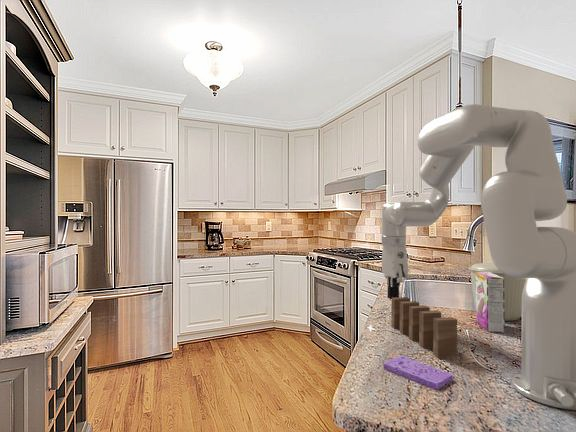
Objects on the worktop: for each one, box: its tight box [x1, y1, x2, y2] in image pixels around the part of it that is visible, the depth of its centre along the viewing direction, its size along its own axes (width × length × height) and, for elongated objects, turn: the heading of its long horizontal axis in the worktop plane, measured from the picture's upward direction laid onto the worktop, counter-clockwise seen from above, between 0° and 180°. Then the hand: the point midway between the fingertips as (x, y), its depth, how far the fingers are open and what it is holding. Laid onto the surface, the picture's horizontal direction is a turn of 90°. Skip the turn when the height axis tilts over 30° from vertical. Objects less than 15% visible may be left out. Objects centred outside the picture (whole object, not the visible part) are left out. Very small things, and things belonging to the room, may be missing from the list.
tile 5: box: [390, 296, 411, 330], centre depth 108 cm, size 2×5×9 cm, turn 98°
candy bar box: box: [475, 272, 506, 334], centre depth 109 cm, size 11×5×16 cm, turn 168°
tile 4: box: [399, 300, 420, 336], centre depth 102 cm, size 2×5×9 cm, turn 99°
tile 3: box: [408, 305, 431, 342], centre depth 97 cm, size 2×5×9 cm, turn 99°
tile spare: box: [432, 316, 458, 359], centre depth 85 cm, size 2×5×9 cm, turn 99°
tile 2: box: [418, 310, 442, 349], centre depth 91 cm, size 2×5×9 cm, turn 99°
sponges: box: [383, 354, 454, 390], centre depth 75 cm, size 7×13×2 cm, turn 39°
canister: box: [468, 258, 526, 322], centre depth 121 cm, size 18×18×21 cm
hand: (393, 298), depth 113 cm, fingers closed
